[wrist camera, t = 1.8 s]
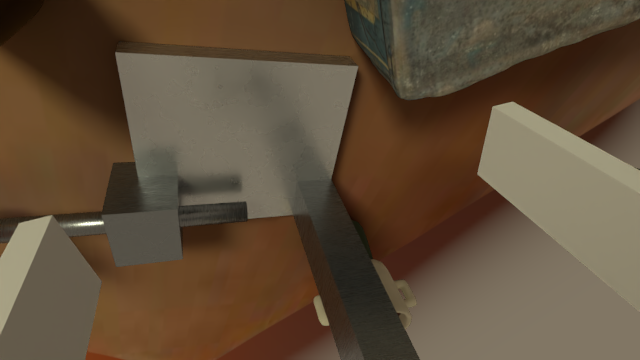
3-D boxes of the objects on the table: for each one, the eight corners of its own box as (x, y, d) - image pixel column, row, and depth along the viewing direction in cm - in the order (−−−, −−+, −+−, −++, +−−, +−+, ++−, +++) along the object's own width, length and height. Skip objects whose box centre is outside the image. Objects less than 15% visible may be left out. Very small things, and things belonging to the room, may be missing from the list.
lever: (-122, 216, 24) (-219, 326, 18) (245, 192, 32) (259, 264, 26) (-101, 242, 25) (-184, 351, 20) (244, 213, 33) (257, 285, 28)
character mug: (291, 258, 45) (321, 361, 35) (296, 218, 40) (332, 324, 31) (370, 246, 48) (416, 337, 39) (383, 208, 44) (439, 300, 34)
